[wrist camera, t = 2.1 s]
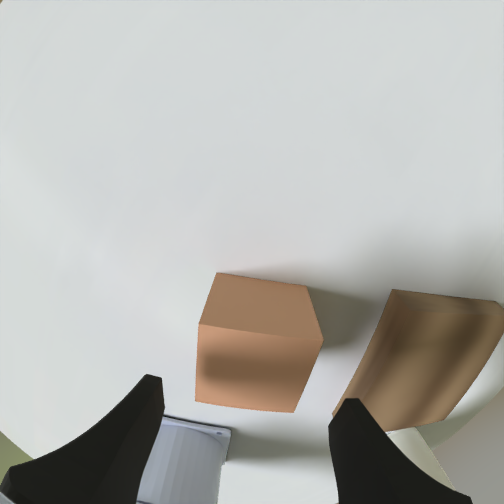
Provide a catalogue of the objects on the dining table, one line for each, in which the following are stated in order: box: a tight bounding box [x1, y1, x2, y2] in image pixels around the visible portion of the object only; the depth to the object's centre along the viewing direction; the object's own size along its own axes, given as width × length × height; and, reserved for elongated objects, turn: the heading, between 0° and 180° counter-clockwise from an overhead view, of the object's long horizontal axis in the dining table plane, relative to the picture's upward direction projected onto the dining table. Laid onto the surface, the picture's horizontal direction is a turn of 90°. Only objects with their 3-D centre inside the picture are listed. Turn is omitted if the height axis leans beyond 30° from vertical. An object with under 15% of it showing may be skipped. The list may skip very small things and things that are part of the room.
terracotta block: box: [195, 273, 324, 413], centre depth 13 cm, size 5×5×5 cm
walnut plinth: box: [332, 289, 504, 432], centre depth 16 cm, size 12×12×3 cm
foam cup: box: [387, 427, 456, 491], centre depth 15 cm, size 10×9×13 cm
